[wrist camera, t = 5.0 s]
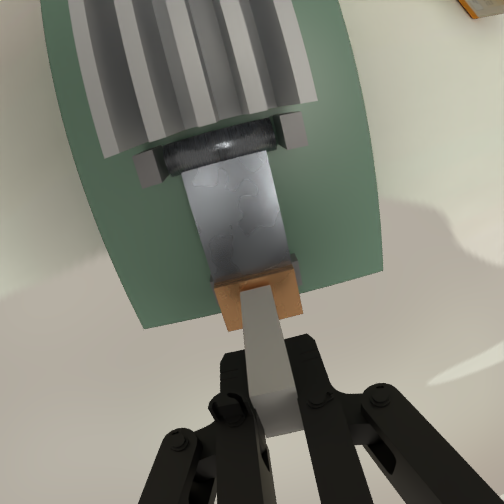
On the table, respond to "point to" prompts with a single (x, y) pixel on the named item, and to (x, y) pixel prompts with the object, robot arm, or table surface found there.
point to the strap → (237, 214)
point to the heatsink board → (209, 119)
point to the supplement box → (483, 7)
